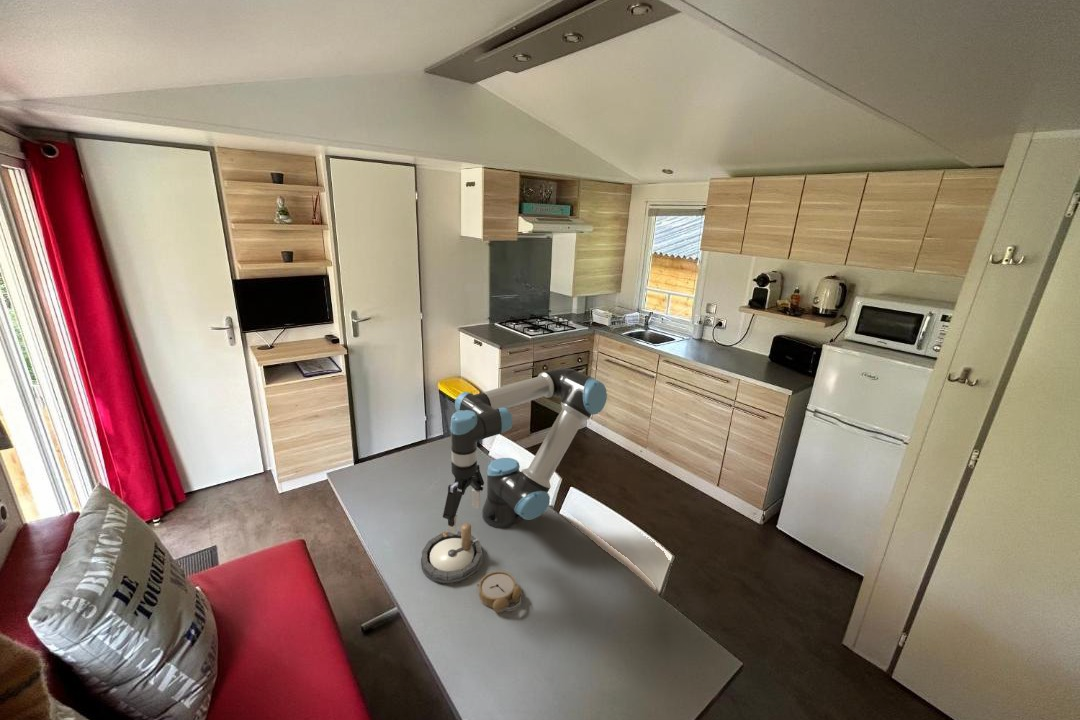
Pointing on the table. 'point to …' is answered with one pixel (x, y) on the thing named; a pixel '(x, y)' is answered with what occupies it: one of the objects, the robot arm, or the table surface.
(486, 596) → the alarm clock
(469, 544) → the dial
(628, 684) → the table surface
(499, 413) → the robot arm
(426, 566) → the housing
